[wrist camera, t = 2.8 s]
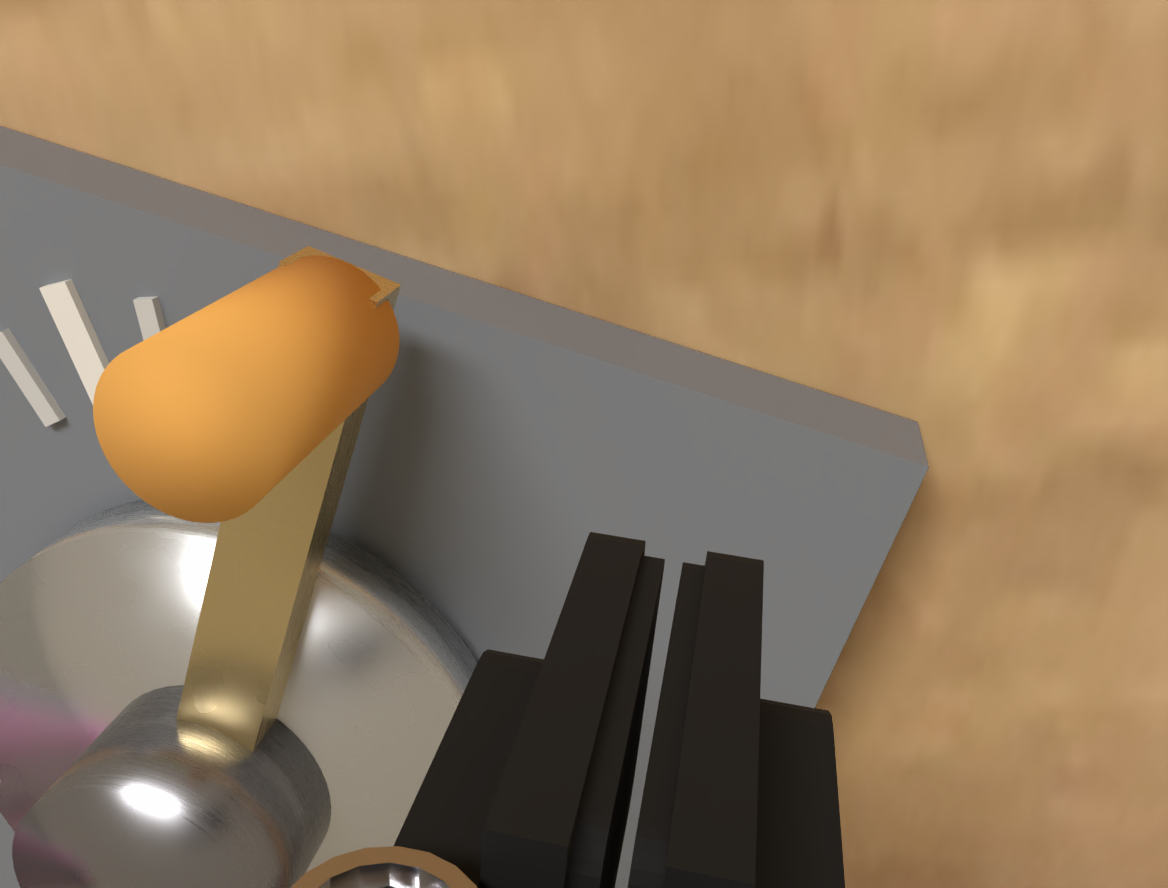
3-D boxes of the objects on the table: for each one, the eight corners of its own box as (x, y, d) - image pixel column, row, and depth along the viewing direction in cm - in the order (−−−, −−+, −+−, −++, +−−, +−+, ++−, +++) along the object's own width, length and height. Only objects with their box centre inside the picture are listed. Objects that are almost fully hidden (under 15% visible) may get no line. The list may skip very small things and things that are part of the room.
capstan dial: (427, 1002, 26) (322, 1285, 20) (-12, 809, 26) (-236, 1037, 20) (718, 369, 17) (675, 550, 12) (71, 98, 18) (-264, 154, 12)
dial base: (917, 422, 20) (929, 472, 18) (608, 1097, 29) (594, 1177, 27) (-134, 82, 21) (-232, 93, 19) (-95, 834, 31) (-157, 893, 29)
